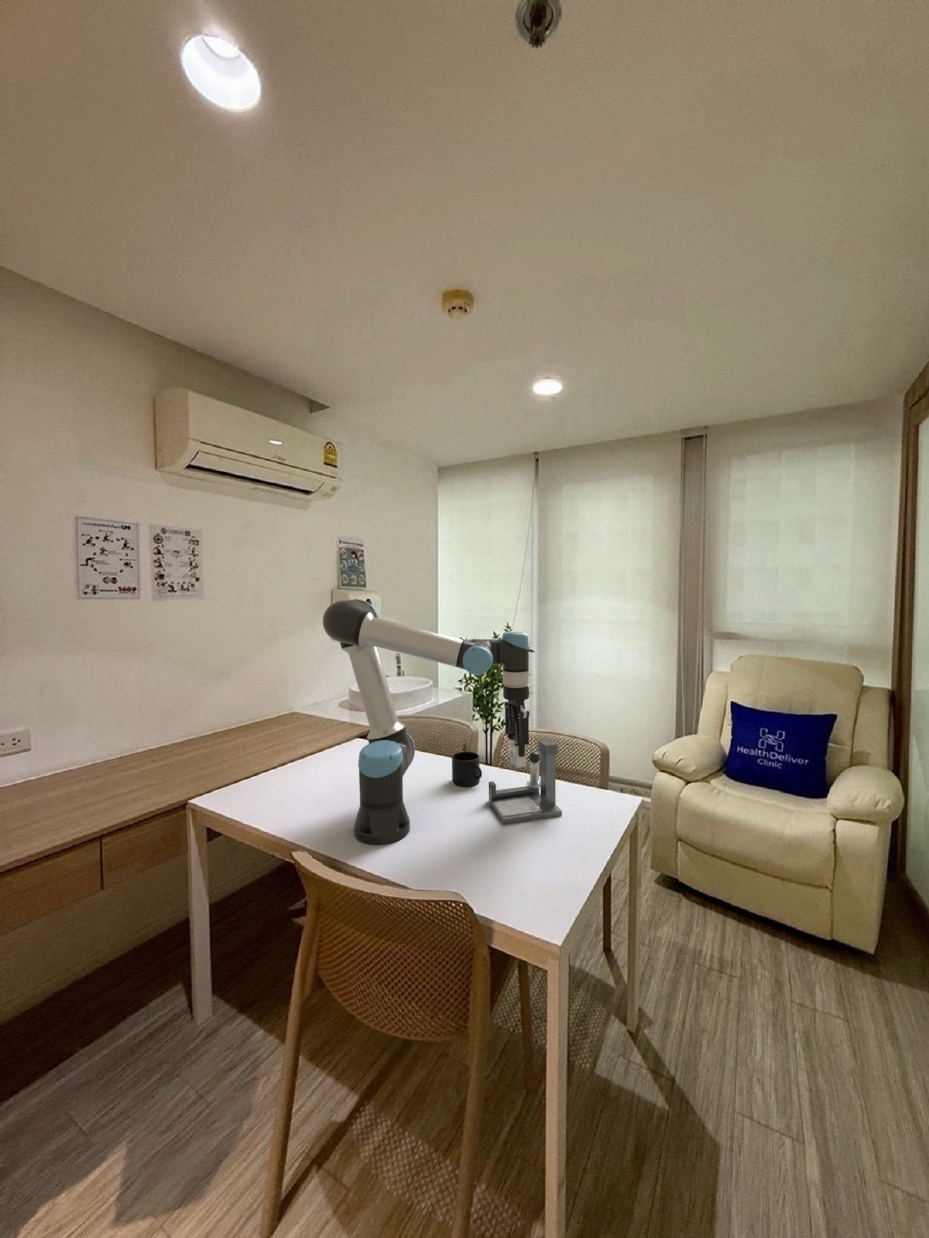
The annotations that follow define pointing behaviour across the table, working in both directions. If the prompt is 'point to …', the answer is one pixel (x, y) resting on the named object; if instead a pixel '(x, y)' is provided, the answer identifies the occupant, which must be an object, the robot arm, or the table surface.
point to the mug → (466, 769)
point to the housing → (514, 754)
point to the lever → (534, 770)
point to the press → (529, 793)
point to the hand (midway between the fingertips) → (516, 763)
